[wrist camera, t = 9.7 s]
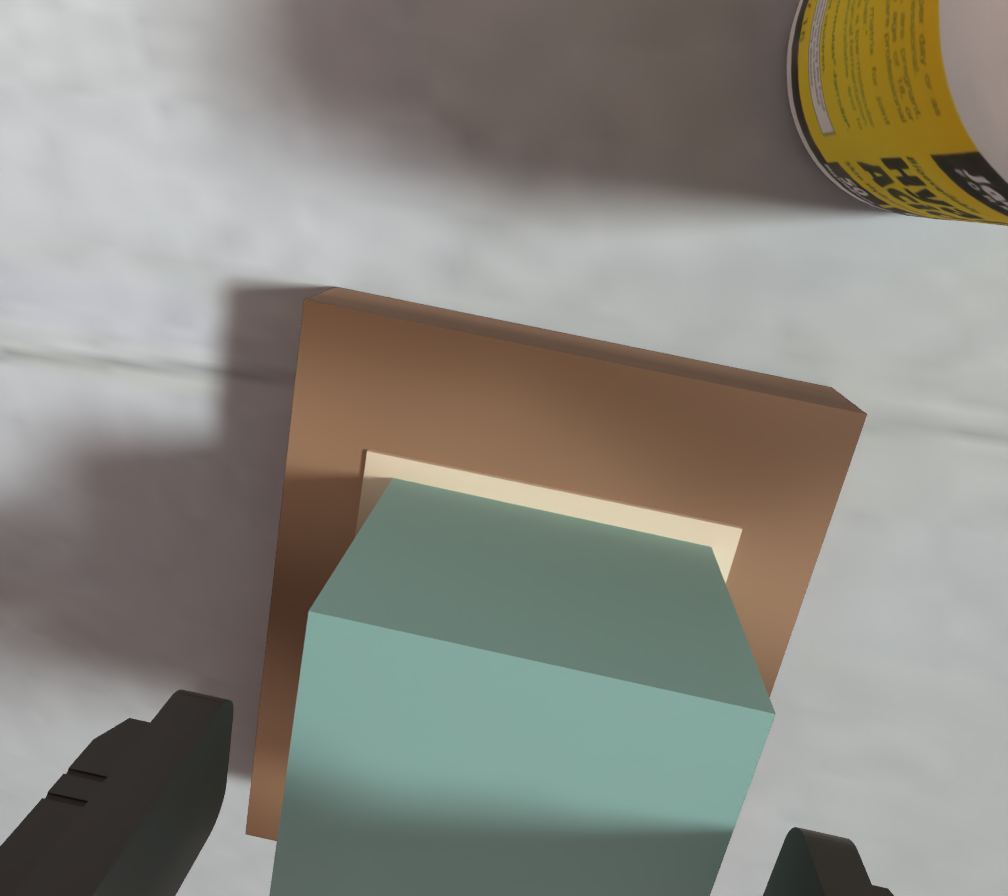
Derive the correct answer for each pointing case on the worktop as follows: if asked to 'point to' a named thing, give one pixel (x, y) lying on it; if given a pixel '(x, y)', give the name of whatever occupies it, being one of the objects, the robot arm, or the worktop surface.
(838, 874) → the robot arm
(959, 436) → the worktop surface
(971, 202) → the supplement bottle
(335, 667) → the teal block
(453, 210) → the worktop surface
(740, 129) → the worktop surface
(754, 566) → the base board
